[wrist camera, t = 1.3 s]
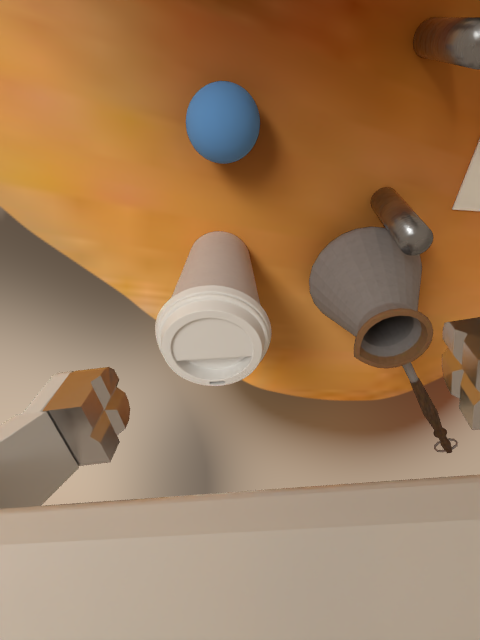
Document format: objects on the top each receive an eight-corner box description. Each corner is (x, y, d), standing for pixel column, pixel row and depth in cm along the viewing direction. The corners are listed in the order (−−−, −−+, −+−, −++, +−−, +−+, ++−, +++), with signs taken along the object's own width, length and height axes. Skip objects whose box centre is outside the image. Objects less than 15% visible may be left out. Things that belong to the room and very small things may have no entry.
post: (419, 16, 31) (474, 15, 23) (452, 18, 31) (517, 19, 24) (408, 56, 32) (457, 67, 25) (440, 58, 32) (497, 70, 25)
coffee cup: (167, 283, 45) (141, 379, 33) (186, 205, 40) (163, 286, 28) (247, 304, 47) (250, 402, 35) (276, 232, 41) (291, 319, 29)
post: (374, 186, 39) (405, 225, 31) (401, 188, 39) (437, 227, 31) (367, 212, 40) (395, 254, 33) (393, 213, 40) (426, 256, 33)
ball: (189, 74, 33) (180, 83, 28) (261, 79, 33) (265, 89, 28) (190, 150, 37) (182, 170, 32) (255, 154, 37) (258, 175, 32)
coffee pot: (287, 250, 43) (305, 340, 31) (391, 194, 39) (458, 272, 27) (360, 372, 54) (395, 473, 42) (447, 337, 50) (512, 438, 38)
